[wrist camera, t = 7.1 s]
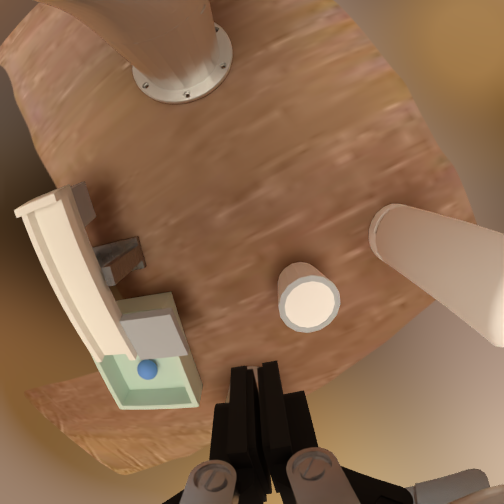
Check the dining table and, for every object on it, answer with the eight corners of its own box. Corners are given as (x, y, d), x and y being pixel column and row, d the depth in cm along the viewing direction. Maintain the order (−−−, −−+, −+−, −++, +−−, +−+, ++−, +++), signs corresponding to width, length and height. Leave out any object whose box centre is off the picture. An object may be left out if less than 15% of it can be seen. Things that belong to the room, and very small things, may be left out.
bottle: (371, 268, 38) (516, 401, 11) (364, 209, 36) (550, 288, 9) (420, 254, 37) (573, 351, 10) (415, 198, 35) (596, 252, 8)
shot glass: (283, 314, 39) (291, 342, 32) (264, 269, 37) (269, 290, 31) (331, 294, 39) (347, 318, 32) (315, 248, 37) (330, 265, 30)
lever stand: (87, 248, 36) (49, 270, 27) (138, 236, 36) (106, 256, 27) (95, 276, 37) (60, 303, 28) (146, 266, 37) (118, 294, 28)
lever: (45, 191, 26) (14, 210, 21) (134, 159, 26) (110, 172, 20) (111, 340, 35) (98, 372, 30) (191, 330, 35) (186, 366, 30)
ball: (144, 371, 40) (137, 356, 39) (162, 370, 40) (155, 354, 39) (139, 384, 37) (131, 369, 36) (158, 383, 37) (150, 367, 36)
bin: (91, 304, 38) (75, 319, 33) (171, 291, 38) (161, 307, 33) (129, 389, 42) (120, 409, 37) (202, 385, 42) (199, 406, 37)
